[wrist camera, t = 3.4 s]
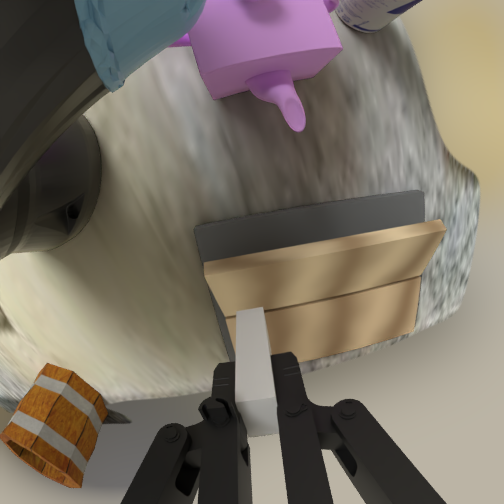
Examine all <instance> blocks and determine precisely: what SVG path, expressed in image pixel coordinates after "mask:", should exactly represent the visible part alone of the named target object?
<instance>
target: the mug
mask: <svg viewBox="0 0 504 504" xmlns="http://www.w3.org/2000/svg"><path fill="white" fill-rule="evenodd" d="M107 415H108V412H107V409H106V407H105V405H104V402H103V400H102V397H101V394H100V393H99V392H97V391H96V390H95V389H94V388H92V387H91V386H90V385H89V384H87V383H86V382H85V381H84V380H83V379H82V378H80V377H79V376H78V375H77V374H76V373H75V372H73V371H70V370H67V369H64V368H61V367H58V366H55V365H52V364H49V363H47V364H46V365H45V366H44V368H43V369H42V370H41V371H40V372H39V374H38V376H37V378H36V380H35V382H34V384H33V385H32V387H31V388H30V390H29V391H28V393H27V394H26V395H25V396H24V398H23V399H22V400H21V401H20V403H19V404H18V406H17V408H16V410H15V412H14V414H13V417H12V419H11V420H10V422H9V423H8V425H7V427H6V428H5V429H4V431H3V432H2V433H1V434H0V439H1V440H2V441H3V442H4V443H5V444H6V446H7V447H8V448H9V449H10V450H11V451H12V452H13V453H14V454H15V455H16V456H17V457H19V458H20V459H21V460H23V461H24V462H25V463H26V464H28V465H29V466H30V467H32V468H33V469H35V470H36V471H38V472H39V473H40V474H42V475H44V476H45V477H47V478H49V479H52V480H54V481H56V482H58V483H60V484H62V485H64V486H67V487H69V488H81V487H82V481H83V475H84V472H85V469H86V466H87V463H88V460H89V459H90V457H91V455H92V453H93V451H94V449H95V445H96V441H97V437H98V433H99V431H100V428H101V426H102V424H103V422H104V420H105V419H106V417H107Z"/></svg>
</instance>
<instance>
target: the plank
mask: <svg viewBox="0 0 504 504" xmlns="http://www.w3.org/2000/svg"><path fill="white" fill-rule="evenodd" d="M446 230H447V229H446V227H445V226H444V224H443V223H442V221H441V220H440V219H439V220H433V221H428V222H423V223H417V224H412V225H406V226H401V227H395V228H390V229H385V230H379V231H374V232H368V233H363V234H357V235H352V236H346V237H341V238H335V239H330V240H325V241H319V242H314V243H308V244H303V245H297V246H292V247H286V248H281V249H275V250H270V251H264V252H259V253H253V254H248V255H242V256H236V257H231V258H225V259H220V260H214V261H209V262H204V277H205V279H206V281H207V283H208V285H209V287H210V289H211V291H212V293H213V295H214V297H215V299H216V301H217V302H218V304H219V306H220V308H221V310H222V312H223V314H224V316H225V317H227V316H233V315H236V311H241V310H247V309H253V308H259V307H263V309H264V310H269V309H274V308H280V307H285V306H290V305H295V304H301V303H306V302H310V301H315V300H320V299H325V298H329V297H334V296H339V295H343V294H347V293H352V292H356V291H360V290H365V289H369V288H373V287H377V286H381V285H385V284H389V283H393V282H397V281H400V280H404V279H408V278H412V277H415V276H419V275H421V274H422V272H423V271H424V269H425V268H426V266H427V264H428V263H429V261H430V259H431V257H432V256H433V254H434V252H435V250H436V249H437V247H438V245H439V243H440V241H441V240H442V238H443V236H444V234H445V232H446Z"/></svg>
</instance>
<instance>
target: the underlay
mask: <svg viewBox="0 0 504 504" xmlns="http://www.w3.org/2000/svg"><path fill="white" fill-rule="evenodd" d="M423 222H425V204H424V192H423V191H419V190H414V191H406V192H398V193H390V194H382V195H375V196H367V197H360V198H353V199H347V200H340V201H333V202H327V203H320V204H314V205H308V206H302V207H296V208H290V209H284V210H278V211H272V212H267V213H261V214H255V215H250V216H244V217H239V218H234V219H228V220H223V221H218V222H213V223H208V224H203V225H198V226H195V228H194V233H195V238H196V242H197V246H198V250H199V253H200V257H201V261H202V265H203V269H204V262H209V261H214V260H220V259H225V258H231V257H236V256H242V255H248V254H253V253H259V252H264V251H270V250H275V249H281V248H286V247H292V246H297V245H303V244H308V243H314V242H319V241H325V240H330V239H335V238H341V237H346V236H352V235H357V234H363V233H368V232H374V231H379V230H385V229H390V228H395V227H401V226H406V225H412V224H417V223H423ZM419 276H420V277H421V279H422V274H421V275H419ZM207 284H208V283H207ZM208 287H209V285H208ZM420 289H421V282H420ZM209 291H210V295H211V298H212V302H213V305H214V309H215V312H216V316H217V319H218V323H219V326H220V330H221V333H222V336H223V340H224V343H225V346H226V349H227V353H228V356H229V359H230V362H233V361H236V354H235V351H234V347H233V344H232V341H231V337H230V333H229V330H228V326H227V323H226V317H225V316H224V314H223V312H222V310H221V308H220V306H219V304H218V302H217V301H216V299H215V297H214V295H213V293H212V291H211V289H210V287H209ZM419 297H420V291H419ZM418 305H419V300H418ZM417 312H418V307H417ZM416 318H417V314H416ZM415 325H416V320H415ZM414 327H415V326H414Z"/></svg>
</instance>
